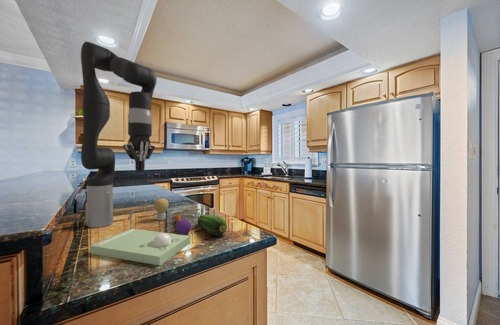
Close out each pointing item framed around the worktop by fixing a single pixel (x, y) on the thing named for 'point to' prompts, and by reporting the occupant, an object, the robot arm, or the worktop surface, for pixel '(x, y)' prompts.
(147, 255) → the putting board
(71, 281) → the worktop surface
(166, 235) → the ball
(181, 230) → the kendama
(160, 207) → the light bulb
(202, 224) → the vegetable
